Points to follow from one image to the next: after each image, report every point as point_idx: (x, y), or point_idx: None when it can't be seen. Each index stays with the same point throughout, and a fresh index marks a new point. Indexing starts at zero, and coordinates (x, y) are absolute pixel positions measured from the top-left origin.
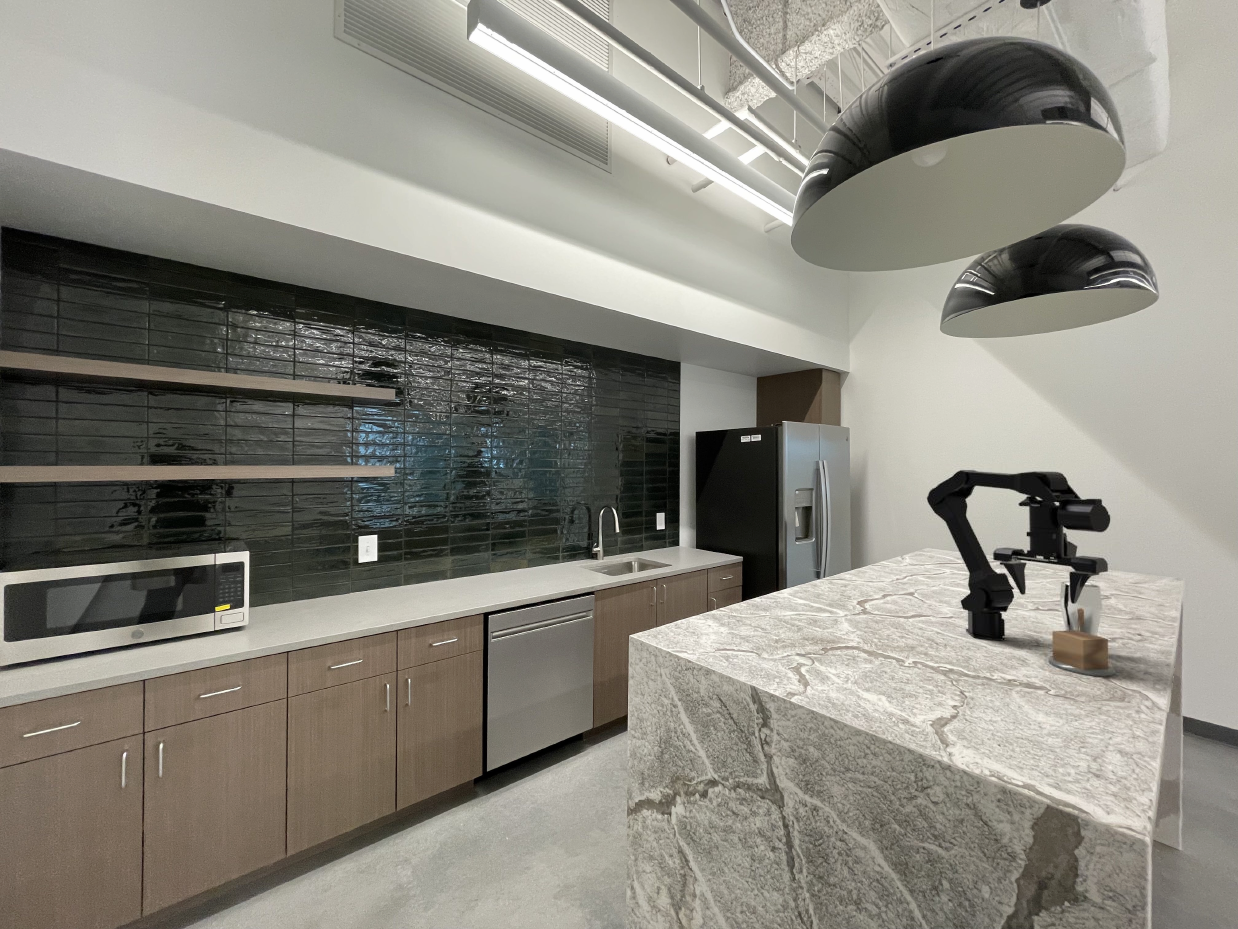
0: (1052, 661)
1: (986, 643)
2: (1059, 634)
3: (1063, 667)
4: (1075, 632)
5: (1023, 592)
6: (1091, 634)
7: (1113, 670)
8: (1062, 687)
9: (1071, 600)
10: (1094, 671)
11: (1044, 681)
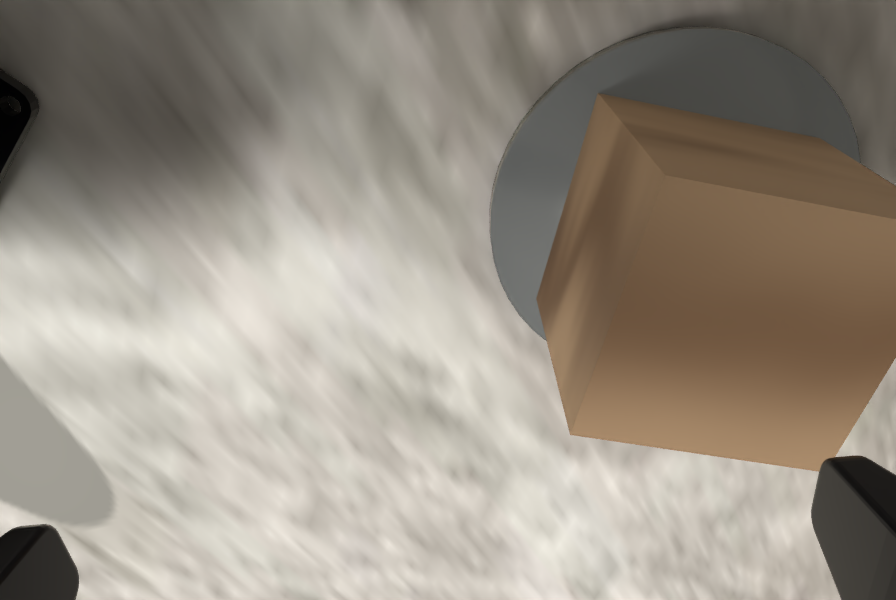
0: None
1: (82, 297)
2: (632, 438)
3: None
4: (700, 286)
5: (56, 595)
6: (823, 210)
7: (850, 141)
8: (733, 582)
9: (844, 582)
10: None
11: (659, 583)
